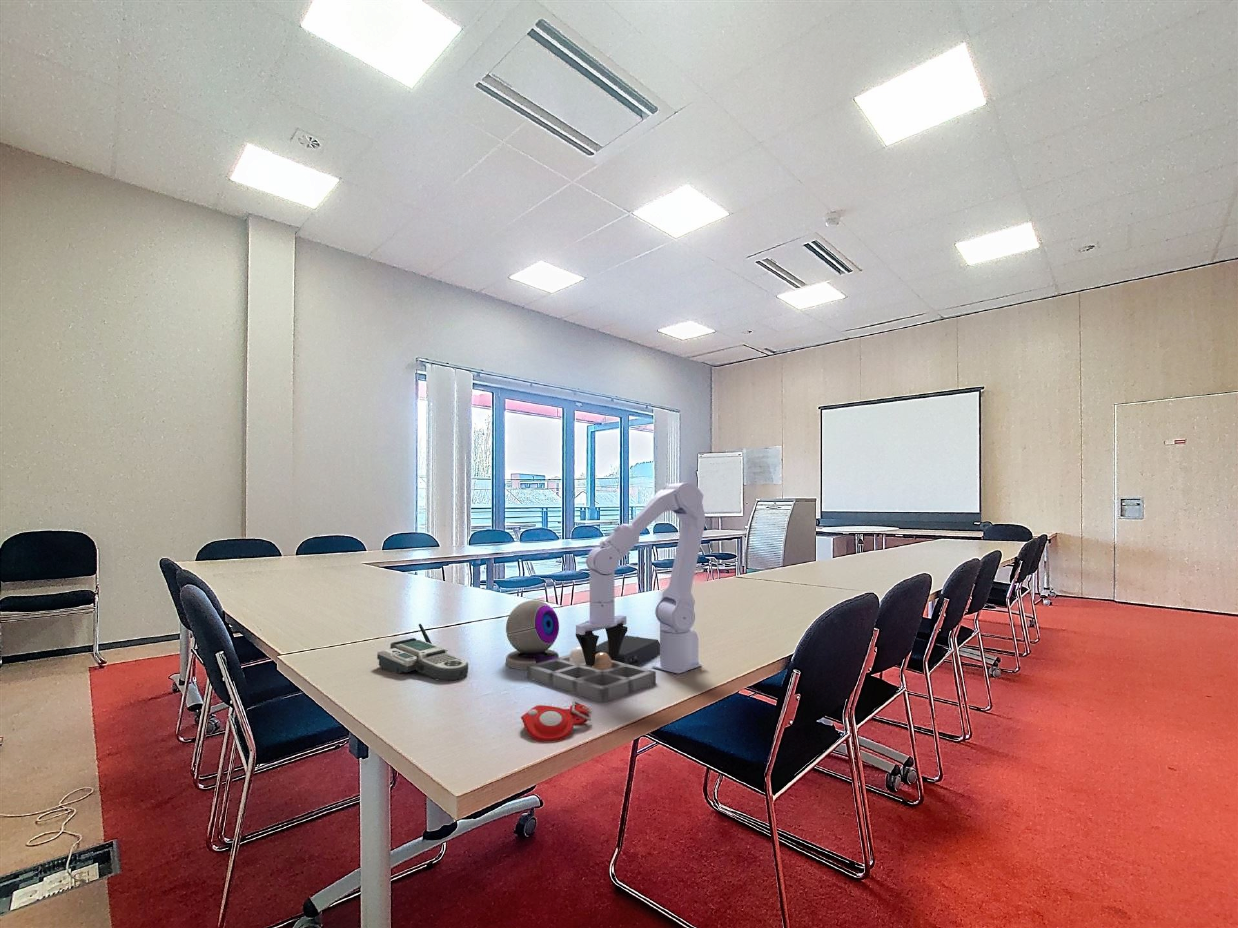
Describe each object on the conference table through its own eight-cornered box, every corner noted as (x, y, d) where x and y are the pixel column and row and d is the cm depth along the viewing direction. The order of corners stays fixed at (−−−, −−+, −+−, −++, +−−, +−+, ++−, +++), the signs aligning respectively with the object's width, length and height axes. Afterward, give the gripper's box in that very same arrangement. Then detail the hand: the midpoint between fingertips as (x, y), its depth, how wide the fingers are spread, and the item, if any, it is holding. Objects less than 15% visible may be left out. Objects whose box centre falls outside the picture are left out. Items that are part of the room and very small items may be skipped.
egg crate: (526, 677, 130) (526, 665, 130) (579, 662, 142) (580, 651, 142) (602, 702, 114) (602, 689, 114) (655, 683, 126) (655, 671, 126)
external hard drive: (582, 664, 142) (582, 647, 142) (622, 647, 158) (622, 632, 158) (629, 672, 135) (628, 654, 135) (665, 653, 152) (665, 638, 152)
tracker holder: (555, 741, 93) (509, 715, 98) (554, 764, 94) (508, 737, 100) (598, 702, 103) (554, 680, 108) (596, 723, 104) (553, 700, 110)
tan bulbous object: (601, 672, 134) (601, 648, 134) (615, 676, 131) (615, 652, 131) (588, 676, 131) (588, 652, 131) (601, 681, 128) (601, 656, 128)
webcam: (536, 672, 134) (536, 607, 135) (494, 664, 140) (495, 602, 141) (568, 659, 145) (568, 598, 146) (528, 652, 151) (528, 594, 152)
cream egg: (579, 666, 139) (579, 643, 139) (592, 669, 136) (592, 646, 136) (565, 670, 136) (566, 646, 136) (578, 674, 133) (578, 650, 133)
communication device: (435, 689, 123) (436, 647, 124) (374, 668, 138) (375, 631, 138) (480, 675, 133) (480, 636, 134) (418, 657, 147) (419, 622, 148)
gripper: (591, 607, 124) (591, 671, 123) (636, 598, 134) (636, 658, 134) (569, 603, 129) (569, 665, 128) (614, 595, 139) (614, 652, 138)
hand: (602, 661), depth 131 cm, fingers open, 7 cm apart
